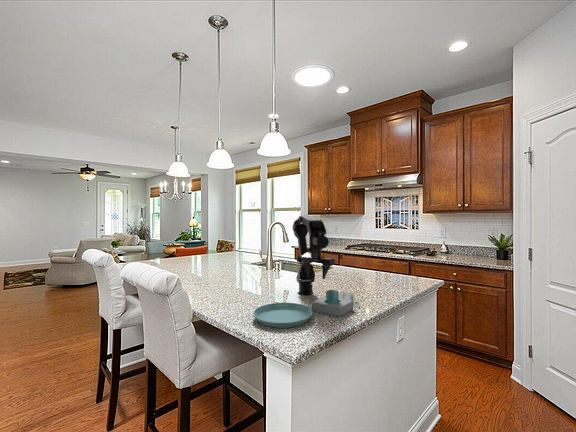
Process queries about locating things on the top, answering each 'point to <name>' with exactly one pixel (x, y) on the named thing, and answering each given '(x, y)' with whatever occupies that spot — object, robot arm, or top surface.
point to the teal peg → (332, 296)
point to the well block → (332, 307)
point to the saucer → (282, 314)
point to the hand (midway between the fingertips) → (315, 277)
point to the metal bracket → (348, 297)
